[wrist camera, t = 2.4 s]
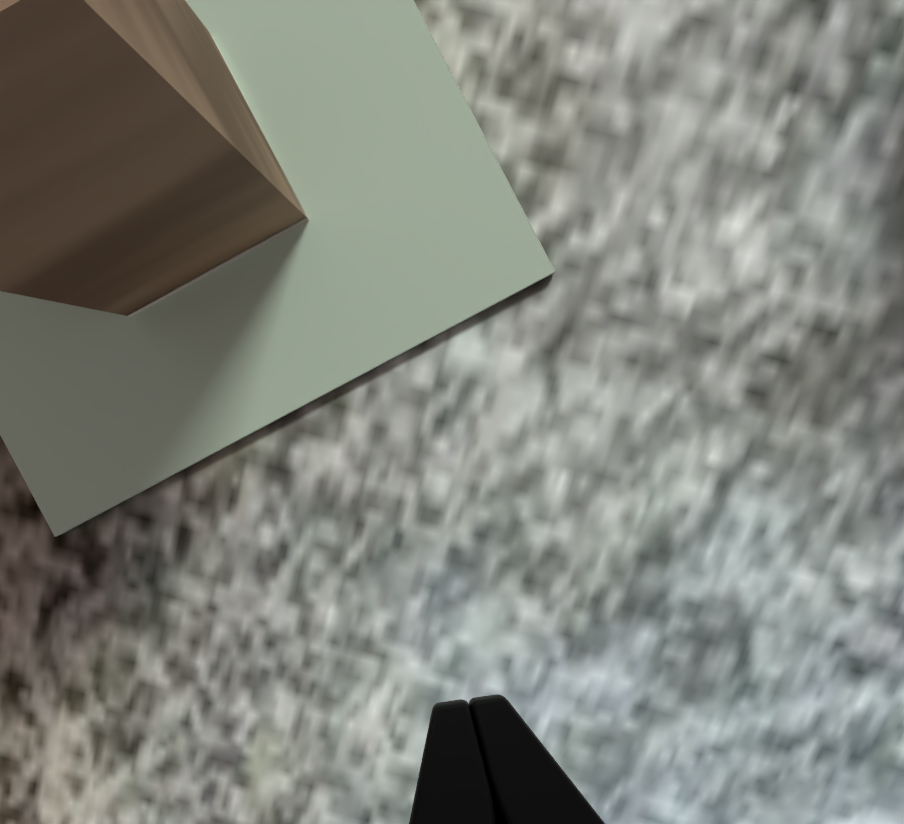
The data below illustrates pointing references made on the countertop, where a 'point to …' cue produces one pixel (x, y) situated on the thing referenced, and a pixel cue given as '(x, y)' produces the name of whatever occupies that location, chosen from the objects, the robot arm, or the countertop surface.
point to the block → (126, 155)
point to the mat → (279, 263)
